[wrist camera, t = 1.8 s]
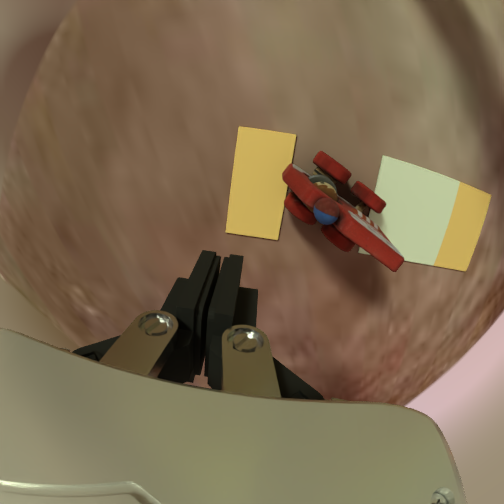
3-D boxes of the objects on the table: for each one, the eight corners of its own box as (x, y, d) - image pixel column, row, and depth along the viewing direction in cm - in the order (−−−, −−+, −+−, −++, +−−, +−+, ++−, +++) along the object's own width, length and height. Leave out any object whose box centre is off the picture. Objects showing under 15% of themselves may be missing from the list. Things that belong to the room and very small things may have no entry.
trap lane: (239, 126, 28) (238, 126, 27) (490, 194, 28) (491, 195, 28) (225, 231, 33) (225, 232, 33) (464, 270, 33) (465, 271, 33)
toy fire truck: (304, 138, 28) (319, 143, 18) (388, 205, 30) (430, 239, 21) (267, 190, 30) (264, 219, 21) (352, 250, 33) (379, 298, 23)
